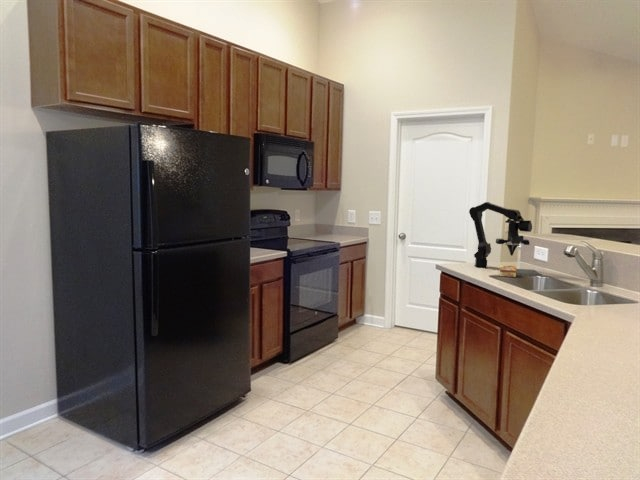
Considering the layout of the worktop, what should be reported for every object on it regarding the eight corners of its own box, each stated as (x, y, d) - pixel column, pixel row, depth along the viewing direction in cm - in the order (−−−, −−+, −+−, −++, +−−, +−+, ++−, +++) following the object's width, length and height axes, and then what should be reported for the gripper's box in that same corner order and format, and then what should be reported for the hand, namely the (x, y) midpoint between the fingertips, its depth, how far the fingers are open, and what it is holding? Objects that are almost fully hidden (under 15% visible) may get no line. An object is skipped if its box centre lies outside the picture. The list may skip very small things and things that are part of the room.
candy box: (500, 271, 292) (499, 276, 278) (500, 264, 291) (499, 269, 277) (515, 272, 288) (515, 277, 274) (515, 265, 288) (516, 270, 274)
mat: (515, 274, 284) (515, 273, 284) (508, 269, 299) (508, 268, 299) (542, 275, 283) (542, 274, 283) (534, 270, 297) (534, 269, 297)
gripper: (500, 231, 282) (498, 257, 284) (533, 232, 279) (531, 258, 281) (496, 229, 293) (494, 254, 295) (527, 230, 290) (525, 255, 292)
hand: (511, 255), depth 290 cm, fingers closed
